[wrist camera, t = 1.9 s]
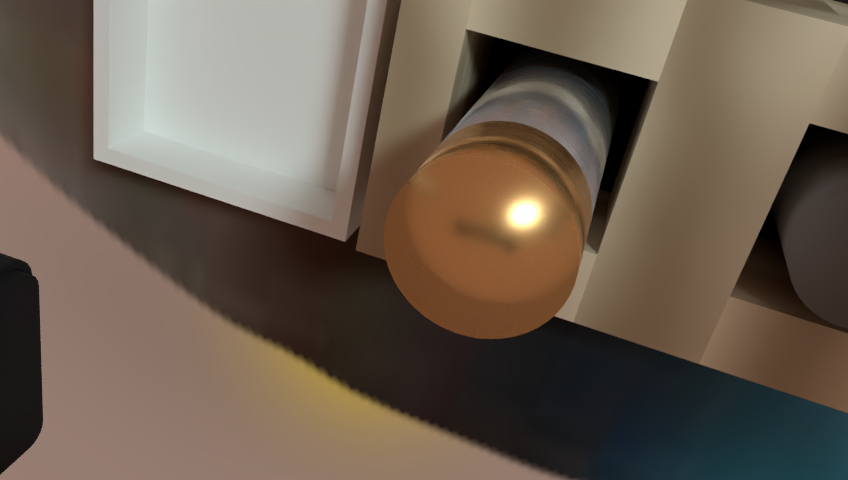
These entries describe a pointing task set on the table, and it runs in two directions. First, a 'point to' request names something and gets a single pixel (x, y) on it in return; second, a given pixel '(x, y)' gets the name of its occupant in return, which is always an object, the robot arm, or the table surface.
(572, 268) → the pin
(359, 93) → the tray
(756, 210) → the socket block
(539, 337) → the table surface
